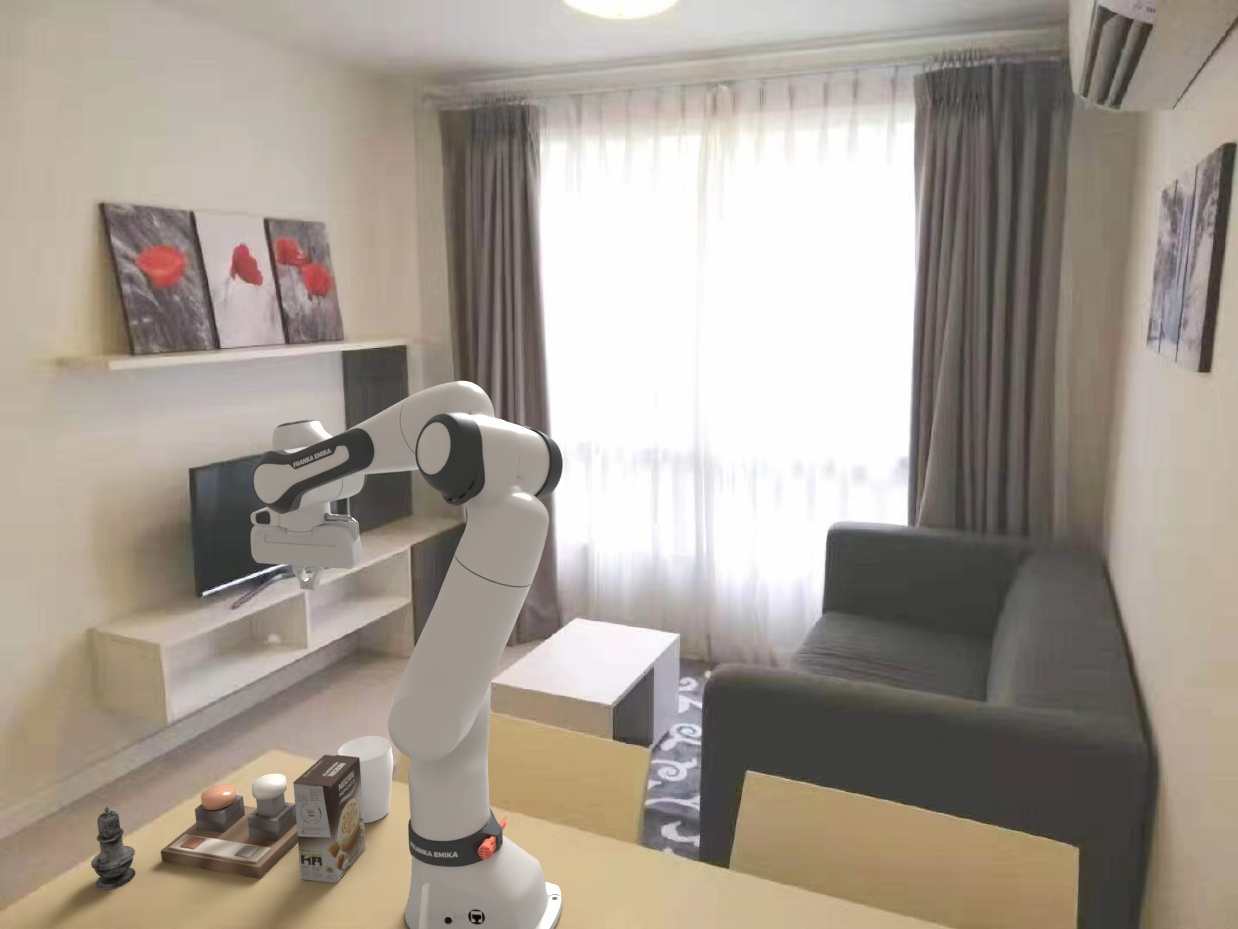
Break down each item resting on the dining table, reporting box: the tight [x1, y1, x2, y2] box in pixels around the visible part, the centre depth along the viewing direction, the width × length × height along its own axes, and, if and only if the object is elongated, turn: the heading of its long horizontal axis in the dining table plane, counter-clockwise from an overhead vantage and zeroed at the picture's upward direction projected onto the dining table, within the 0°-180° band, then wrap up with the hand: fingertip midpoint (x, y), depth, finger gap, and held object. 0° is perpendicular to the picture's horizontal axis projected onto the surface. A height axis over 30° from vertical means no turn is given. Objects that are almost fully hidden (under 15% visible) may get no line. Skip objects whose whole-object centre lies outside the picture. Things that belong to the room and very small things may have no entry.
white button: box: [251, 773, 288, 818], centre depth 142 cm, size 5×5×5 cm
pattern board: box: [160, 794, 298, 880], centre depth 143 cm, size 18×14×6 cm
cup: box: [337, 735, 394, 824], centre depth 150 cm, size 9×9×12 cm
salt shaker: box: [90, 806, 136, 891], centre depth 134 cm, size 6×6×12 cm
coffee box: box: [292, 754, 366, 884], centre depth 136 cm, size 9×6×16 cm
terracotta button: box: [200, 783, 237, 810], centre depth 145 cm, size 5×5×5 cm
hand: (310, 589), depth 155 cm, fingers closed
